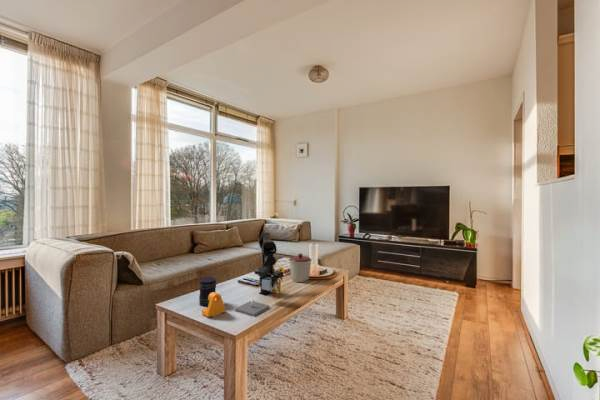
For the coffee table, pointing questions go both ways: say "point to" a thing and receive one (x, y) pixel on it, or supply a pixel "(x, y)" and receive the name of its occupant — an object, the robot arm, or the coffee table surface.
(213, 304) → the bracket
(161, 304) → the coffee table surface
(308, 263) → the canister
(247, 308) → the pin plate
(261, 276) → the robot arm
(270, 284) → the blue-grey hollow cube
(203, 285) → the storage jar
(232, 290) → the coffee table surface
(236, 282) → the coffee table surface
